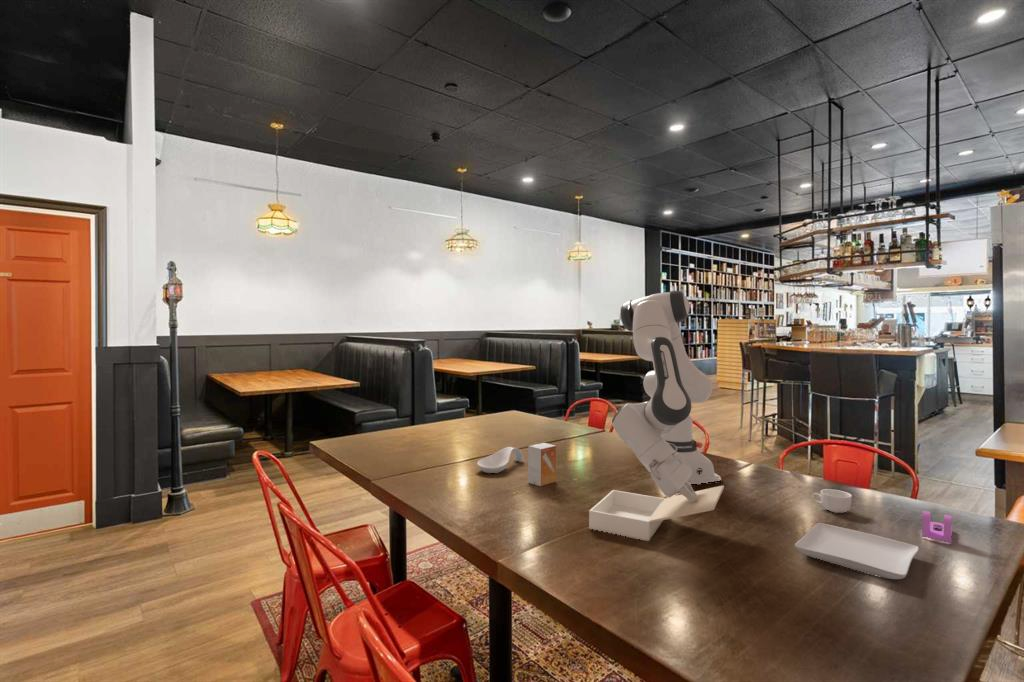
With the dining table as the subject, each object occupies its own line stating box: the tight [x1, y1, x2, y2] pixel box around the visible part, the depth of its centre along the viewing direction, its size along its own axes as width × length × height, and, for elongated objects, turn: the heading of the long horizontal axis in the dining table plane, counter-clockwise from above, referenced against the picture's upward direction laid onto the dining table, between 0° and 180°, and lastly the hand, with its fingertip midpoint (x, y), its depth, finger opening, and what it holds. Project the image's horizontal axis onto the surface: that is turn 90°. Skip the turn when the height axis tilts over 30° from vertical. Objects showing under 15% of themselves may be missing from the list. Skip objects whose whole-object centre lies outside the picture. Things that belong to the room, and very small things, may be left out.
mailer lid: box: [650, 485, 725, 522], centre depth 132 cm, size 16×20×1 cm
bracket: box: [921, 510, 953, 544], centre depth 131 cm, size 13×6×7 cm, turn 137°
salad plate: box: [794, 522, 920, 580], centre depth 118 cm, size 21×21×3 cm
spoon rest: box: [476, 446, 525, 474], centre depth 194 cm, size 24×12×7 cm, turn 145°
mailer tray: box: [588, 489, 667, 542], centre depth 139 cm, size 16×20×5 cm
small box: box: [527, 442, 557, 487], centre depth 176 cm, size 8×6×13 cm
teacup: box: [811, 488, 853, 513], centre depth 149 cm, size 10×8×5 cm
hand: (694, 499), depth 130 cm, fingers closed
